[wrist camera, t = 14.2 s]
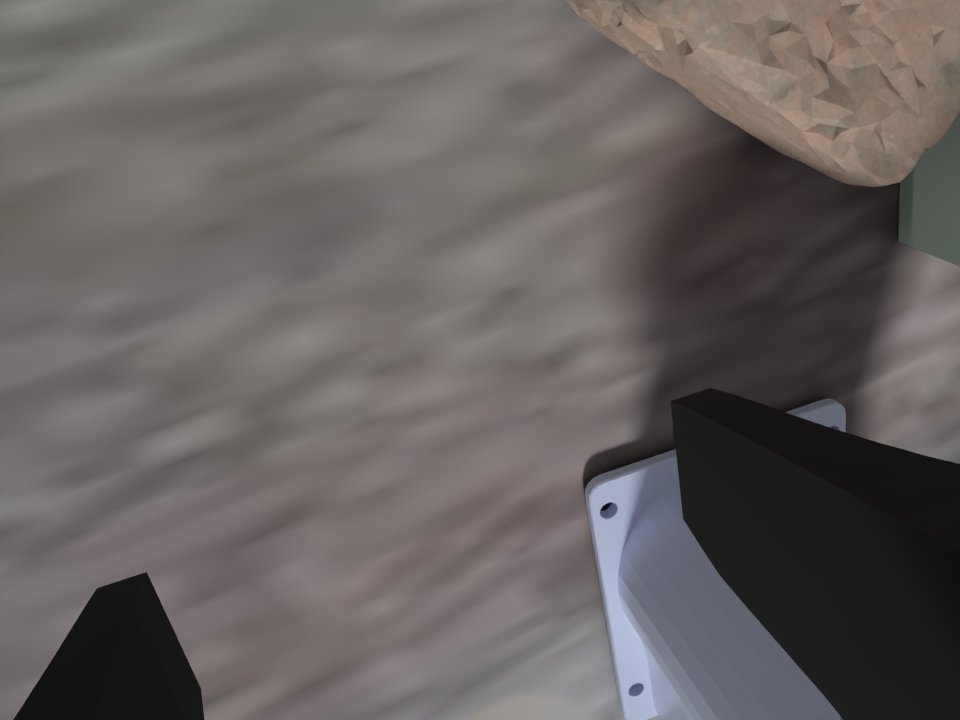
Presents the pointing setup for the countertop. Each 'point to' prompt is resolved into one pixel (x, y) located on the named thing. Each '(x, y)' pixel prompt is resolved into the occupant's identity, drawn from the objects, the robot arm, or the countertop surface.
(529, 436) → the countertop surface
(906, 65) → the brick
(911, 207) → the tray
